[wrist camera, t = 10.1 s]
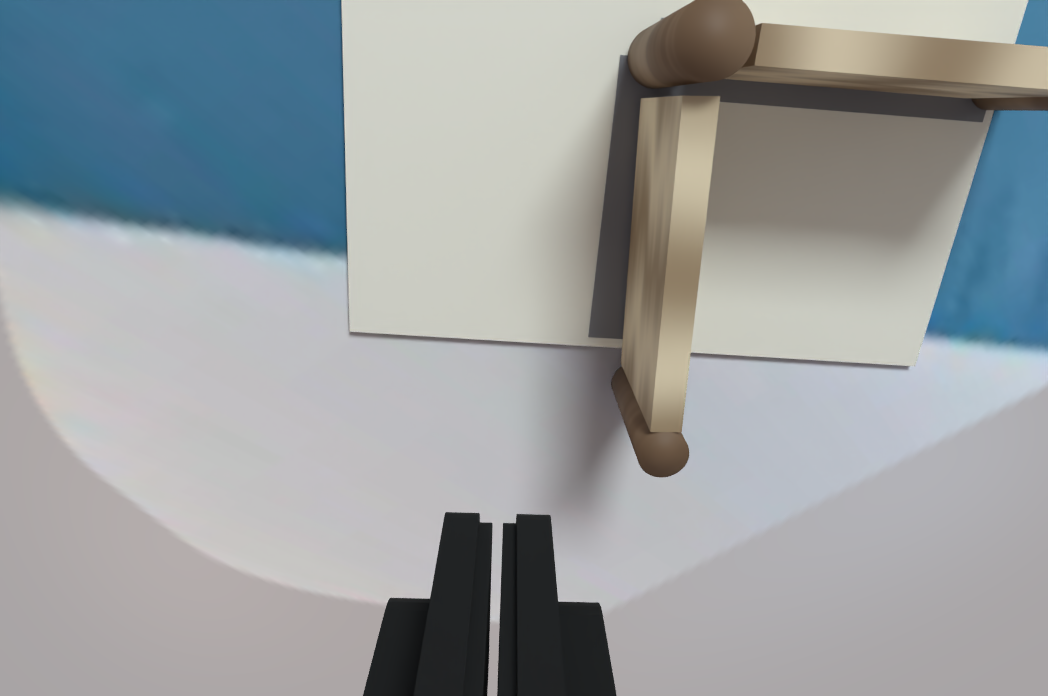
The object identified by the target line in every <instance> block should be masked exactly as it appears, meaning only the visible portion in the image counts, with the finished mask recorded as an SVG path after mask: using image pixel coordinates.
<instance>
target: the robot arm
mask: <svg viewBox="0 0 1048 696" xmlns="http://www.w3.org/2000/svg"><path fill="white" fill-rule="evenodd" d="M491 557H492V523H480V514H479V513H452V512H446V513H445V517H444V522H443V528H442V534H441V540H440V545H439V551H438V557H437V563H436V568H435V574H434V580H433V586H432V592H431V597H430V599H412V598H390V599H389V601H388V603H387V606H386V609H385V613H384V617H383V621H382V624H381V628H380V632H379V636H378V640H377V644H376V648H375V651H374V656H373V659H372V663H371V667H370V671H369V675H368V679H367V682H366V686H365V690H364V694H363V696H487V686H488V664H489V631H490V594H491ZM497 696H616V690H615V684H614V678H613V673H612V667H611V662H610V655H609V650H608V643H607V638H606V632H605V626H604V620H603V614H602V610H601V606H600V604H599V603H587V602H558V596H557V584H556V572H555V561H554V549H553V537H552V526H551V516H550V515H528V514H517V517H516V523H503V544H502V573H501V602H500V632H499V663H498V694H497Z"/></svg>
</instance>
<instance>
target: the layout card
mask: <svg viewBox="0 0 1048 696" xmlns="http://www.w3.org/2000/svg"><path fill="white" fill-rule="evenodd" d="M341 1H342V42H343V82H344V123H345V163H346V204H347V244H348V285H349V325H350V332H364V333H380V334H396V335H413V336H429V337H445V338H461V339H478V340H494V341H510V342H527V343H543V344H559V345H576V346H592V347H608V348H622V342H623V329H624V315H625V302H626V289H627V275H628V262H629V249H630V235H631V222H632V209H633V196H634V182H635V169H636V156H637V142H638V129H639V116H640V102H641V98H655V97H670V96H720V103H719V112H718V121H717V129H716V138H715V146H714V155H713V164H712V172H711V181H710V190H709V198H708V207H707V216H706V224H705V233H704V242H703V250H702V259H701V267H700V276H699V285H698V293H697V302H696V311H695V319H694V328H693V337H692V345H691V353H706V354H723V355H739V356H755V357H772V358H788V359H804V360H821V361H837V362H853V363H870V364H886V365H902V366H915V364H916V361H917V358H918V355H919V351H920V348H921V345H922V342H923V339H924V335H925V332H926V329H927V326H928V322H929V319H930V316H931V313H932V309H933V306H934V303H935V300H936V297H937V293H938V290H939V287H940V284H941V280H942V277H943V274H944V271H945V267H946V264H947V261H948V258H949V255H950V251H951V248H952V245H953V242H954V238H955V235H956V232H957V229H958V225H959V222H960V219H961V216H962V212H963V209H964V206H965V203H966V200H967V196H968V193H969V190H970V187H971V183H972V180H973V177H974V174H975V170H976V167H977V164H978V161H979V158H980V154H981V151H982V148H983V145H984V141H985V138H986V135H987V132H988V128H989V125H990V122H991V119H992V116H993V112H994V110H983V109H980V108H978V107H977V106H976V105H975V104H974V103H973V101H972V99H971V98H955V97H942V96H930V95H917V94H905V93H892V92H880V91H867V90H855V89H843V88H830V87H818V86H805V85H793V84H780V83H768V82H755V81H743V80H731V79H722V80H719V81H711V82H704V83H696V84H688V85H681V86H673V87H665V88H658V89H651V88H646V87H644V86H642V85H640V84H639V83H638V82H636V81H635V79H634V78H633V77H632V75H631V73H630V71H629V67H628V51H629V47H630V45H631V43H632V41H633V40H634V38H635V37H636V36H637V35H638V34H639V33H640V32H641V31H643V30H645V29H646V28H648V27H650V26H651V25H653V24H655V23H657V22H658V21H660V20H662V19H663V18H665V17H667V16H669V15H670V14H672V13H674V12H675V11H677V10H679V9H681V8H682V7H684V6H686V5H687V4H689V3H691V2H693V1H694V0H341ZM742 1H743V2H744V3H745V4H746V5H747V6H748V7H749V9H750V11H751V13H752V15H753V18H754V22H755V25H757V24H760V23H770V24H781V25H793V26H805V27H817V28H829V29H841V30H852V31H864V32H876V33H888V34H900V35H912V36H924V37H935V38H947V39H959V40H971V41H983V42H995V43H1007V44H1015V41H1016V38H1017V35H1018V32H1019V28H1020V25H1021V22H1022V19H1023V15H1024V12H1025V9H1026V6H1027V2H1028V0H742Z"/></svg>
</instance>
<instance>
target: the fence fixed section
mask: <svg viewBox="0 0 1048 696" xmlns="http://www.w3.org/2000/svg"><path fill="white" fill-rule="evenodd" d="M628 67H629V71H630V73H631V75H632V77H633V78H634V79H635V81H636V82H638V83H639V84H640V85H642V86H644V87H646V88H651V89H658V88H665V87H673V86H681V85H688V84H696V83H704V82H711V81H719V80H722V79H731V80H743V81H755V82H768V83H780V84H793V85H805V86H818V87H830V88H843V89H855V90H867V91H880V92H892V93H905V94H917V95H930V96H942V97H955V98H971V99H972V101H973V103H974V104H975V105H976V106H977V107H978V108H980V109H983V110H1048V47H1042V46H1030V45H1018V44H1007V43H995V42H983V41H971V40H959V39H947V38H935V37H924V36H912V35H900V34H888V33H876V32H864V31H852V30H841V29H829V28H817V27H805V26H793V25H781V24H770V23H760V24H757V25H755V22H754V18H753V15H752V13H751V11H750V9H749V7H748V6H747V5H746V4H745V3H744V2H743V1H742V0H694V1H693V2H691V3H689V4H687V5H686V6H684V7H682V8H681V9H679V10H677V11H675V12H674V13H672V14H670V15H669V16H667V17H665V18H663V19H662V20H660V21H658V22H657V23H655V24H653V25H651V26H650V27H648V28H646V29H645V30H643V31H641V32H640V33H639V34H638V35H637V36H636V37H635V38H634V40H633V41H632V43H631V45H630V47H629V51H628Z"/></svg>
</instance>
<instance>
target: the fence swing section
mask: <svg viewBox="0 0 1048 696" xmlns="http://www.w3.org/2000/svg"><path fill="white" fill-rule="evenodd" d="M719 103H720V96H670V97H655V98H641V102H640V116H639V129H638V142H637V156H636V169H635V182H634V196H633V209H632V222H631V235H630V249H629V262H628V275H627V289H626V302H625V315H624V329H623V342H622V355H621V365H622V367H621V368H619V369H618V370H617V371H616V372H615V374H614V375H613V377H612V381H611V386H612V390H613V393H614V395H615V398H616V401H617V404H618V407H619V409H620V412H621V415H622V418H623V420H624V423H625V426H626V429H627V432H628V434H629V437H630V440H631V443H632V445H633V448H634V451H635V454H636V456H637V459H638V462H639V465H640V466H641V468H642V469H643V470H644V471H645V472H646V473H648V474H649V475H651V476H655V477H668V476H671V475H674V474H676V473H677V472H679V471H680V470H681V469H682V468H683V467H684V466H685V464H686V463H687V461H688V458H689V448H688V445H687V443H686V441H685V439H684V437H683V435H682V433H681V432H682V423H683V414H684V406H685V397H686V388H687V380H688V371H689V363H690V354H691V345H692V337H693V328H694V319H695V311H696V302H697V293H698V285H699V276H700V267H701V259H702V250H703V242H704V233H705V224H706V216H707V207H708V198H709V190H710V181H711V172H712V164H713V155H714V146H715V138H716V129H717V121H718V112H719Z"/></svg>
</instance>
